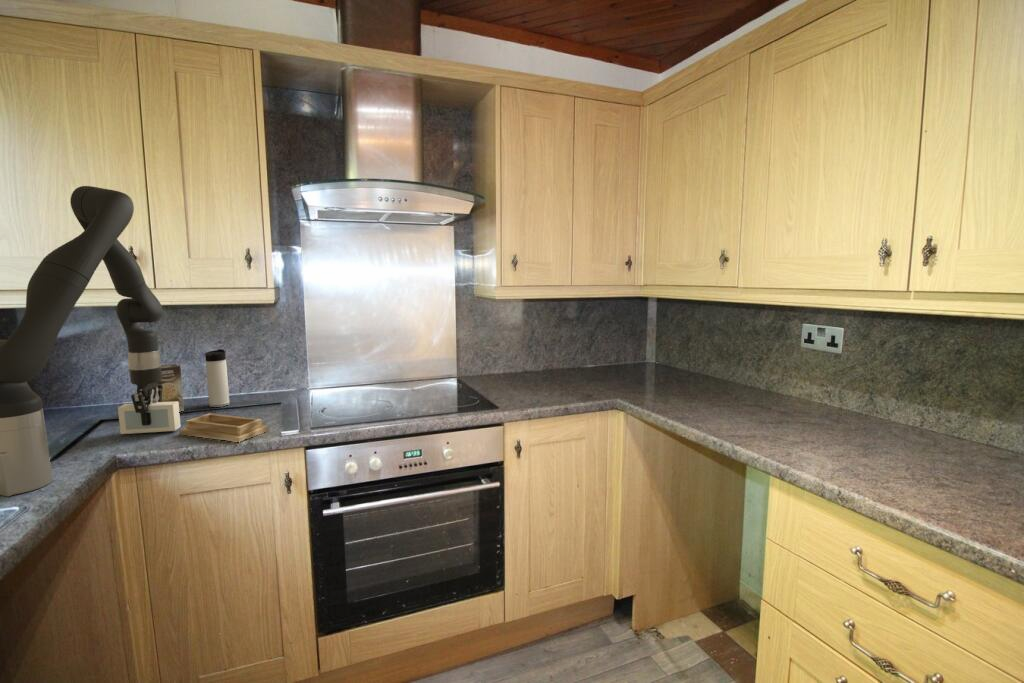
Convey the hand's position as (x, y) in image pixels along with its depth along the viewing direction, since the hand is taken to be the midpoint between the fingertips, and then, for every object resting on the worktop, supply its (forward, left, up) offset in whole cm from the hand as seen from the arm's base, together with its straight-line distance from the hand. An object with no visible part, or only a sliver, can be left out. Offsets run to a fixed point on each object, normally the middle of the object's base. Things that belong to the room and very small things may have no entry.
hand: (150, 422), depth 146 cm
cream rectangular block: (0, 0, -2) cm, 2 cm away
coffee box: (+16, +15, -3) cm, 22 cm away
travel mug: (+29, +5, -3) cm, 30 cm away
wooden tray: (+6, -21, -3) cm, 22 cm away
